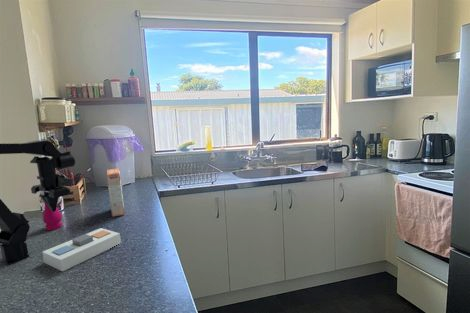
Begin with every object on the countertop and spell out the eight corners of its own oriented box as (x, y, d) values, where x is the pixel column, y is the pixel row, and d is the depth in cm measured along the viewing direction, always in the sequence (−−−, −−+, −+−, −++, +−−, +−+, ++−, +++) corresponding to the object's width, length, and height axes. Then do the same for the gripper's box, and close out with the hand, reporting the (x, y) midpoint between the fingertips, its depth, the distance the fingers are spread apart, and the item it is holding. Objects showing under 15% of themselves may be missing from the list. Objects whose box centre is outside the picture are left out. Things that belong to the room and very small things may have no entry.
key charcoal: (80, 250, 104) (79, 241, 104) (73, 247, 107) (72, 239, 106) (93, 244, 108) (92, 236, 108) (86, 241, 111) (85, 234, 110)
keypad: (62, 271, 96) (60, 259, 95) (44, 262, 102) (42, 251, 102) (121, 243, 114) (119, 233, 113) (102, 237, 120) (100, 228, 119)
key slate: (60, 262, 99) (59, 254, 98) (53, 259, 101) (52, 251, 101) (75, 256, 103) (73, 248, 102) (67, 253, 105) (66, 245, 105)
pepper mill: (54, 231, 130) (47, 186, 127) (40, 230, 132) (32, 186, 128) (67, 224, 137) (60, 181, 134) (53, 224, 139) (46, 182, 135)
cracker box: (125, 215, 145) (119, 172, 141) (111, 217, 143) (105, 174, 139) (124, 206, 158) (119, 167, 154) (112, 208, 156) (106, 169, 152)
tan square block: (99, 245, 110) (98, 237, 110) (92, 242, 113) (91, 235, 112) (111, 239, 114) (110, 232, 114) (103, 237, 117) (102, 230, 116)
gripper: (80, 169, 118) (86, 208, 120) (56, 167, 128) (62, 202, 130) (51, 176, 108) (58, 217, 111) (27, 172, 119) (34, 210, 121)
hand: (53, 211), depth 119 cm, fingers closed
